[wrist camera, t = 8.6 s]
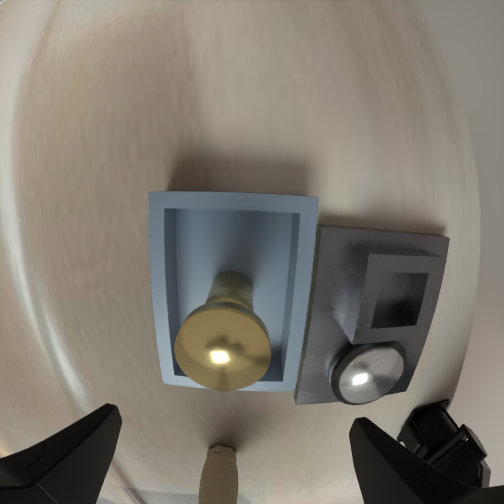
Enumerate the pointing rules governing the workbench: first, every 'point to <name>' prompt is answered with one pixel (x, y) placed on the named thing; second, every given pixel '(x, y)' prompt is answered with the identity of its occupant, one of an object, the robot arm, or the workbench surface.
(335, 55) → the workbench surface
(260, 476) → the workbench surface
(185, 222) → the pin tray
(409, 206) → the workbench surface
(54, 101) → the workbench surface
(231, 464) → the handle
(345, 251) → the grey socket base
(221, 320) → the pin
